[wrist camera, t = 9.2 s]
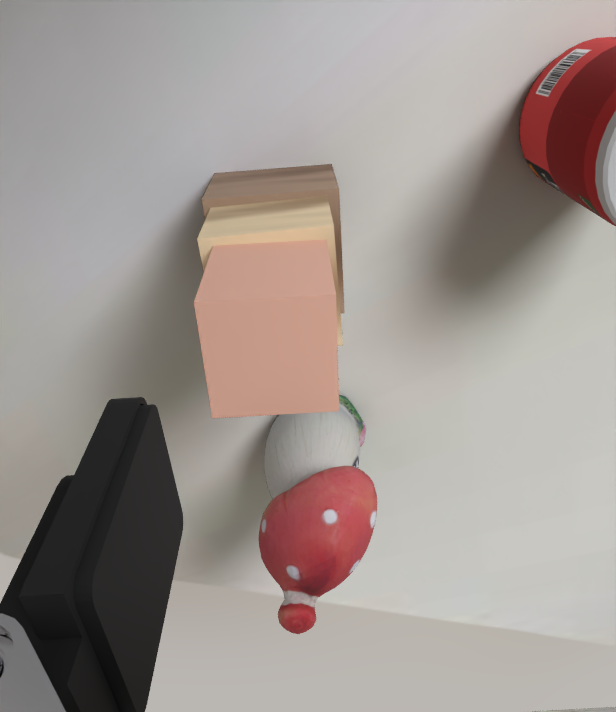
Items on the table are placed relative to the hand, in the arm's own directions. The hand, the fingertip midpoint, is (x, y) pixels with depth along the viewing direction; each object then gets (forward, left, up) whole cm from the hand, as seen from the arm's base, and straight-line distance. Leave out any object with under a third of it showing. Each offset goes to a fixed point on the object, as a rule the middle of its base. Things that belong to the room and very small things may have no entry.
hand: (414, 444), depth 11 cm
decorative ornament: (+20, -2, -28) cm, 34 cm away
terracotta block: (+4, -3, -16) cm, 17 cm away
